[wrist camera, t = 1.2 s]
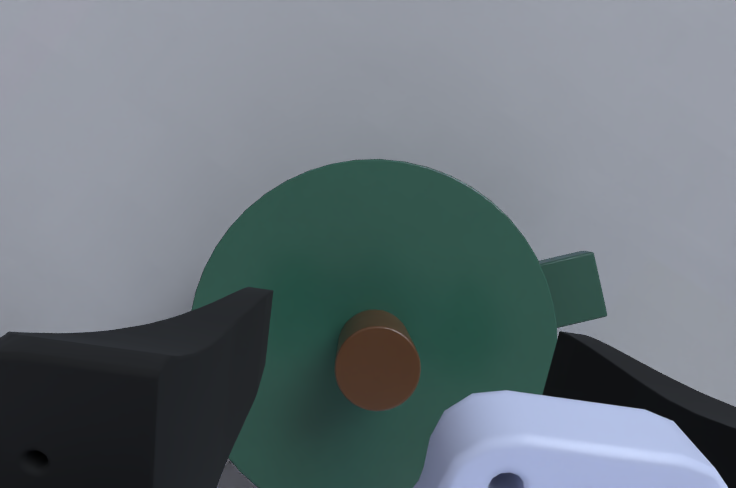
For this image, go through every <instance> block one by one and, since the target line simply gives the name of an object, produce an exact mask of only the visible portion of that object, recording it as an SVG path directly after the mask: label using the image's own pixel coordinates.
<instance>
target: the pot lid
mask: <svg viewBox="0 0 736 488" xmlns="http://www.w3.org/2000/svg"><path fill="white" fill-rule="evenodd" d="M246 287H253V288H260V289H267V290H273V299H272V308H271V317H270V326H269V335H268V344H267V353H266V362H265V367H264V371H263V374H262V378H261V382H260V385H259V388H258V392H257V395H256V398H255V400H254V402H253V405H252V407H251V409H250V411H249V413H248V416H247V418H246V420H245V422H244V424H243V427H242V429H241V431H240V433H239V435H238V438H237V440H236V442H235V444H234V446H233V448H232V451H231V453H230V455H229V457H228V458H229V459H230V460H231V461H232V463H233V464H234V465H235V466H236V467H237V468H238V470H239V471H240V472H241V473H242V474H244V475H245V476H246V477H247V478H248V479H249V480H250V481H251V482H252V483H253V484H255V485H256V486H257V487H258V488H413V487H414V486H415V485H416V483H417V482H418V481H419V478H420V475H421V473H422V470H423V468H424V463H425V458H426V454H427V449H428V444H429V440H430V436H431V434H432V433H433V431H434V429H435V427H436V425H437V423H438V422H439V420H440V418H441V416H442V414H443V412H444V411H445V410H446V409H448V408H450V407H451V406H453V405H454V404H456V403H458V402H459V401H461V400H463V399H464V398H466V397H467V396H469V395H471V394H472V393H482V392H492V391H503V390H508V391H516V392H523V393H530V394H537V395H542V394H543V390H544V387H545V383H546V380H547V376H548V372H549V369H550V365H551V361H552V358H553V354H554V350H555V347H556V343H557V323H556V317H555V311H554V304H553V300H552V296H551V293H550V290H549V286H548V283H547V279H546V277H545V275H544V273H543V270H542V268H541V266H540V264H539V261H538V259H537V257H536V255H535V254H534V252H533V250H532V249H531V247H530V245H529V244H528V242H527V241H526V239H525V237H524V236H523V235H522V233H521V232H520V231H519V230H518V229H517V227H516V226H515V225H514V224H513V222H512V221H511V220H510V219H509V218H508V217H507V216H506V215H505V214H504V213H503V212H502V211H501V210H500V209H499V208H498V207H497V206H496V205H495V204H494V203H493V202H492V201H490V200H489V199H487V198H486V197H485V196H483V195H482V194H481V193H479V192H478V191H476V190H475V189H474V188H472V187H470V186H469V185H467V184H465V183H463V182H461V181H459V180H458V179H456V178H454V177H452V176H450V175H447V174H445V173H442V172H439V171H437V170H434V169H431V168H429V167H425V166H421V165H417V164H412V163H408V162H403V161H393V160H383V159H369V160H352V161H346V162H340V163H334V164H330V165H326V166H323V167H320V168H316V169H313V170H310V171H307V172H305V173H303V174H300V175H298V176H296V177H294V178H292V179H289V180H287V181H285V182H284V183H282V184H280V185H279V186H277V187H276V188H274V189H272V190H271V191H269V192H268V193H266V194H265V195H263V196H262V197H261V198H260V199H259V200H257V201H256V202H255V203H254V204H252V205H251V206H250V207H249V208H248V209H246V210H245V211H244V213H243V214H242V215H241V216H240V217H239V218H238V219H237V220H236V221H235V222H234V223H233V224H232V225H231V226H230V228H229V229H228V230H227V232H226V233H225V235H224V236H223V237H222V239H221V240H220V242H219V243H218V244H217V246H216V247H215V249H214V251H213V253H212V255H211V257H210V259H209V261H208V262H207V264H206V266H205V268H204V271H203V273H202V276H201V279H200V281H199V284H198V287H197V289H196V292H195V297H194V301H193V306H192V310H195V309H198V308H200V307H203V306H205V305H208V304H210V303H212V302H214V301H217V300H219V299H221V298H223V297H225V296H228V295H230V294H232V293H234V292H236V291H238V290H241V289H243V288H246ZM192 310H191V311H192Z"/></svg>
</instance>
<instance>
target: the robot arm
mask: <svg viewBox="0 0 736 488" xmlns="http://www.w3.org/2000/svg"><path fill="white" fill-rule="evenodd" d="M272 299H273V290H267V289H260V288H253V287H246V288H243V289H241V290H238V291H236V292H234V293H232V294H230V295H228V296H225V297H223V298H221V299H219V300H217V301H214V302H212V303H210V304H208V305H205V306H203V307H200V308H198V309H195V310H192V311H190V312H187V313H185V314H182V315H179V316H176V317H173V318H169V319H166V320H162V321H158V322H154V323H150V324H146V325H141V326H134V327H128V328H122V329H116V330H109V331H98V332H85V333H21V332H8V333H7V334H5V335H4V336H2V337H1V338H0V488H217V484H218V481H219V479H220V476H221V474H222V471H223V469H224V466H225V464H226V462H227V459H228V457H229V455H230V453H231V451H232V448H233V446H234V444H235V442H236V440H237V438H238V435H239V433H240V431H241V429H242V427H243V424H244V422H245V420H246V418H247V416H248V413H249V411H250V409H251V407H252V405H253V402H254V400H255V398H256V395H257V392H258V388H259V385H260V382H261V378H262V374H263V371H264V367H265V362H266V353H267V344H268V335H269V326H270V317H271V308H272ZM413 488H736V407H734V406H732V405H729V404H727V403H724V402H722V401H720V400H717V399H715V398H712V397H710V396H707V395H705V394H703V393H701V392H699V391H696V390H694V389H692V388H690V387H688V386H686V385H684V384H682V383H680V382H678V381H676V380H674V379H672V378H670V377H668V376H666V375H664V374H662V373H660V372H658V371H656V370H654V369H652V368H650V367H648V366H647V365H645V364H643V363H641V362H639V361H637V360H635V359H634V358H632V357H630V356H628V355H626V354H624V353H622V352H621V351H619V350H617V349H615V348H613V347H611V346H609V345H607V344H605V343H603V342H601V341H599V340H597V339H594V338H592V337H589V336H586V335H581V334H574V333H567V332H559V336H558V339H557V343H556V347H555V350H554V354H553V358H552V361H551V365H550V369H549V372H548V376H547V380H546V383H545V387H544V390H543V394H542V395H537V394H530V393H523V392H516V391H508V390H503V391H492V392H482V393H472V394H471V395H469V396H467V397H466V398H464V399H463V400H461V401H459V402H458V403H456V404H454V405H453V406H451V407H450V408H448V409H446V410H445V411H444V412H443V414H442V416H441V418H440V420H439V422H438V423H437V425H436V427H435V429H434V431H433V433H432V434H431V436H430V440H429V444H428V449H427V454H426V458H425V463H424V468H423V470H422V473H421V475H420V478H419V481H418V482H417V483H416V485H415V486H414V487H413Z"/></svg>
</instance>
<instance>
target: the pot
mask: <svg viewBox="0 0 736 488" xmlns="http://www.w3.org/2000/svg"><path fill="white" fill-rule="evenodd" d="M539 264H540V266H541V268H542V270H543V273H544V275H545V277H546V279H547V283H548V286H549V290H550V293H551V296H552V300H553V304H554V311H555V317H556V323H557V328H559V327H564V326H568V325H572V324H576V323H580V322H585V321H589V320H593V319H597V318H602V317H605V316H607V312H606V307H605V302H604V298H603V293H602V289H601V284H600V280H599V275H598V271H597V266H596V262H595V257H594V253H593V252H587V251H579V252H575V253H571V254H566V255H562V256H558V257H554V258H549V259H545V260H541V261H539Z"/></svg>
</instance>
